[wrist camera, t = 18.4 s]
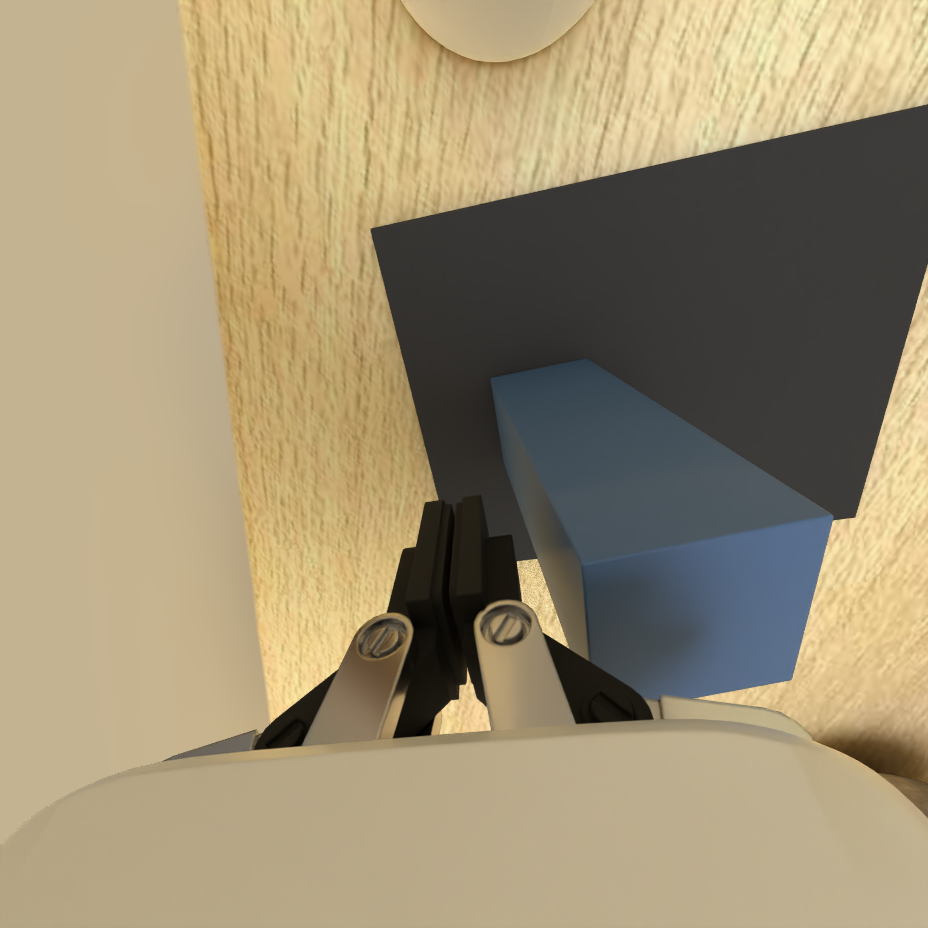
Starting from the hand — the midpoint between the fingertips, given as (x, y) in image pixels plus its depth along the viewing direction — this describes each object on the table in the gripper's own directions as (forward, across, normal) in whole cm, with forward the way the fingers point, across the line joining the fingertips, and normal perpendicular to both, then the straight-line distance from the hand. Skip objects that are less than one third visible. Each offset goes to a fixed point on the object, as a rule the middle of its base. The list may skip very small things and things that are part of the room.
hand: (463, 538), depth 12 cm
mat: (+10, -9, 0) cm, 13 cm away
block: (+9, -4, 0) cm, 10 cm away
